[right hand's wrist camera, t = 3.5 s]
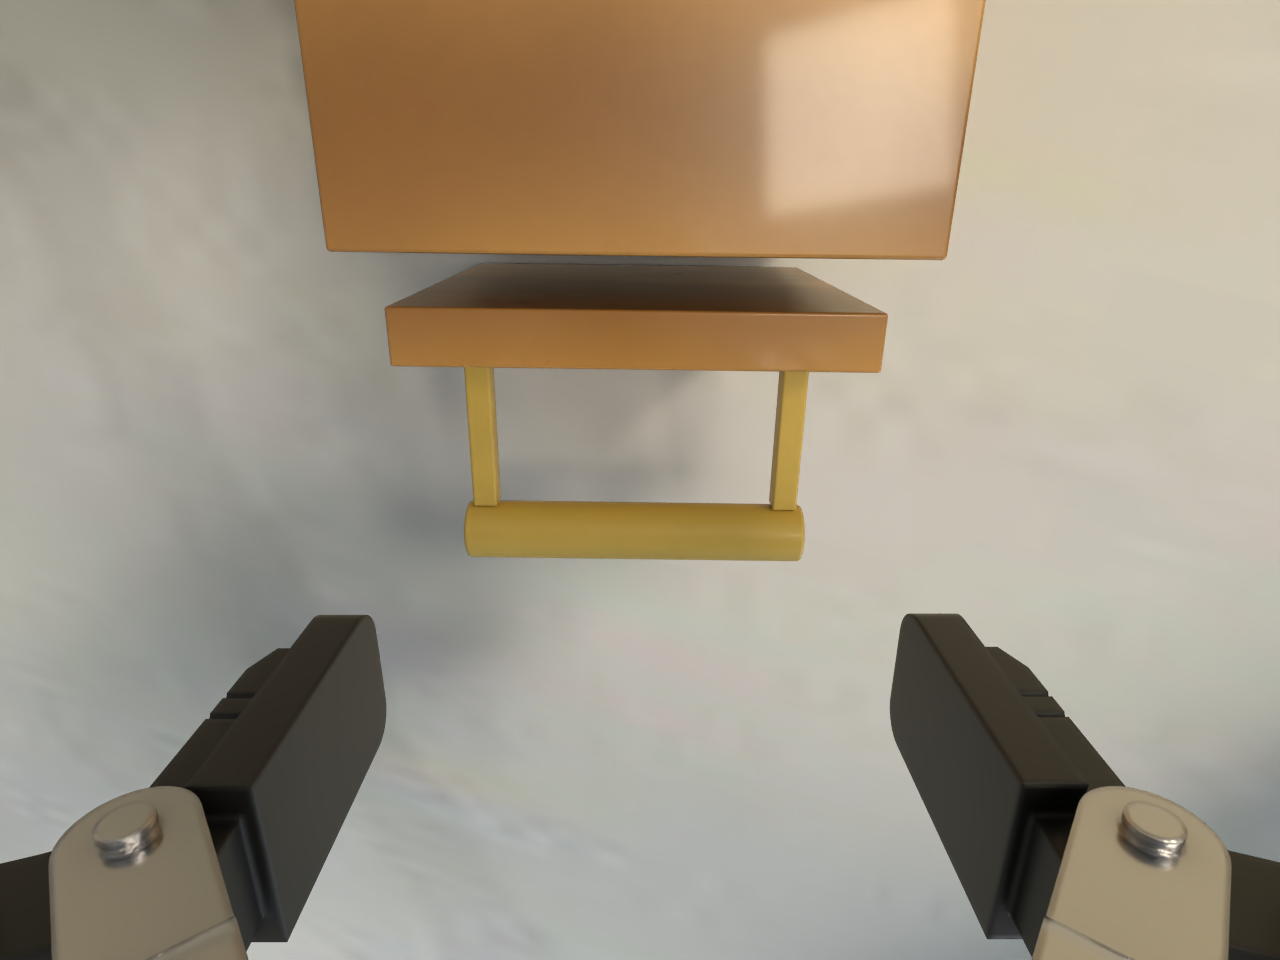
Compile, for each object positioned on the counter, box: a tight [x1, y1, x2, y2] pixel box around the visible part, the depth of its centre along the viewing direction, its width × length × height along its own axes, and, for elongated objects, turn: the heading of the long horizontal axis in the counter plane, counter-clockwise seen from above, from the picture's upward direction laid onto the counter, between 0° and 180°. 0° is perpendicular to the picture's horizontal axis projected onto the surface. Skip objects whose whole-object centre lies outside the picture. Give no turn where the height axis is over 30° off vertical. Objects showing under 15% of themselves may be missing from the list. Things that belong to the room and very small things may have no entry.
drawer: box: [385, 263, 888, 561], centre depth 18 cm, size 22×10×9 cm, turn 179°
